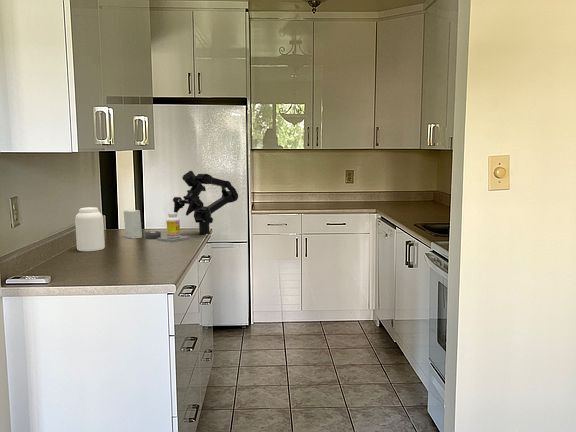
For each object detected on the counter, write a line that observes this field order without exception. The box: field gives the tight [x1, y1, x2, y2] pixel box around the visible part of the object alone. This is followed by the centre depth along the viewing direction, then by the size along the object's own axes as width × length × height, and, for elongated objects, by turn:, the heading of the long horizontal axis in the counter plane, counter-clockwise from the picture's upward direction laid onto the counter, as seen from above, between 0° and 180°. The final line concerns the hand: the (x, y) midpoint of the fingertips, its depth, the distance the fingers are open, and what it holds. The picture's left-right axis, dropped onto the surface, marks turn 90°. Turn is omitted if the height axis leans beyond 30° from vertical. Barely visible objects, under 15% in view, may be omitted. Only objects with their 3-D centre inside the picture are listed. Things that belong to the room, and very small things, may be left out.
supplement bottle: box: [166, 211, 181, 238], centre depth 281 cm, size 7×7×13 cm
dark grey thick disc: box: [144, 230, 162, 240], centre depth 288 cm, size 8×8×3 cm
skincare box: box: [123, 209, 143, 240], centre depth 289 cm, size 8×6×15 cm
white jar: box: [74, 206, 106, 253], centre depth 256 cm, size 12×12×20 cm
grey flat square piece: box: [156, 235, 191, 243], centre depth 282 cm, size 12×12×1 cm
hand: (180, 214), depth 285 cm, fingers open, 9 cm apart
